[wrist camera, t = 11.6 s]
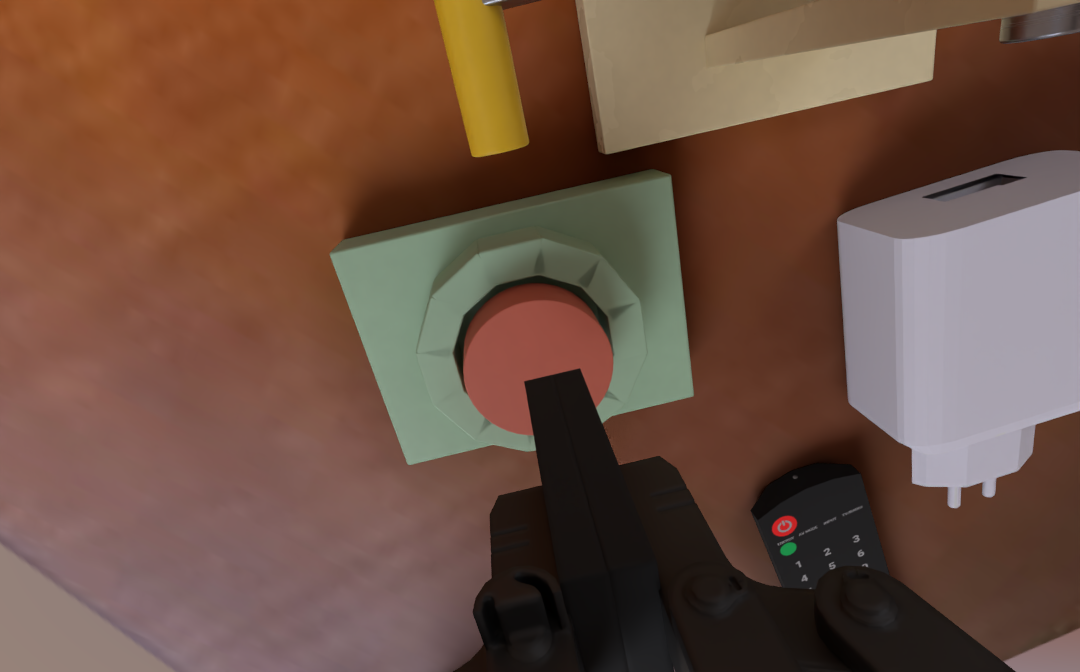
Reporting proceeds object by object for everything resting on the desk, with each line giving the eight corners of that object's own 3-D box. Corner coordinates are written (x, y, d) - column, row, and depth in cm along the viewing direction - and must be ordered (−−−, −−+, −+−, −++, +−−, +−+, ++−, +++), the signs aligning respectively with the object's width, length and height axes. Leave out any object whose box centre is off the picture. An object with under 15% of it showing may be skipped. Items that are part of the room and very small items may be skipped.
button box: (654, 168, 21) (693, 180, 17) (677, 374, 24) (714, 422, 20) (340, 239, 20) (312, 269, 17) (412, 438, 24) (401, 499, 20)
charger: (845, 495, 28) (825, 215, 22) (1016, 442, 28) (1043, 146, 22) (913, 566, 24) (912, 242, 18) (1116, 503, 24) (1183, 156, 18)
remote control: (844, 742, 37) (857, 764, 35) (741, 493, 27) (754, 512, 26) (918, 711, 36) (934, 733, 35) (840, 448, 27) (858, 465, 26)
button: (589, 267, 18) (601, 283, 16) (611, 392, 20) (623, 417, 18) (447, 301, 18) (445, 320, 16) (483, 423, 20) (484, 450, 18)
